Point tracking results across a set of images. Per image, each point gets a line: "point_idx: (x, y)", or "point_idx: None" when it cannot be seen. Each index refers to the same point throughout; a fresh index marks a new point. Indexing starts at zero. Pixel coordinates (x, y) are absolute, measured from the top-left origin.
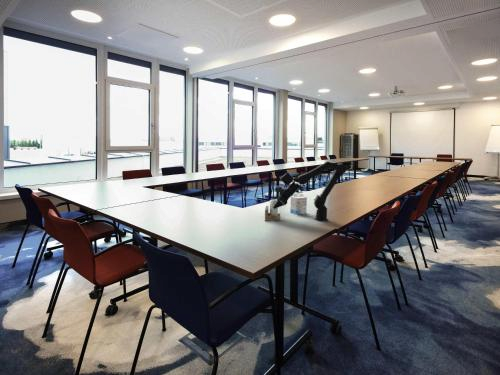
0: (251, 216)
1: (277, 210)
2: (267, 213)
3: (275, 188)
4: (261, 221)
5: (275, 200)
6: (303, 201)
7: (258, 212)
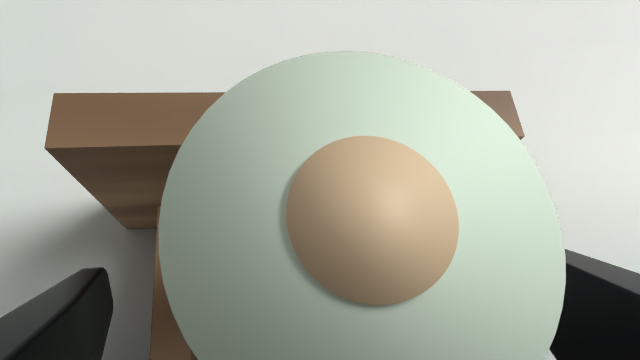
0: (344, 18)
1: None
2: (79, 182)
3: None
4: None
5: (358, 300)
6: None
7: (569, 76)
